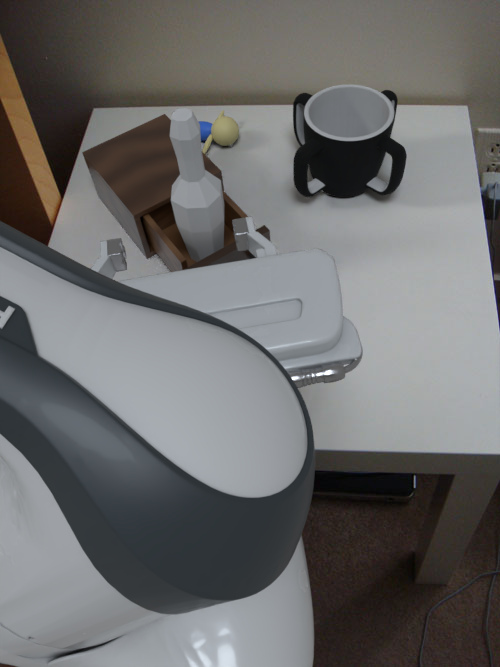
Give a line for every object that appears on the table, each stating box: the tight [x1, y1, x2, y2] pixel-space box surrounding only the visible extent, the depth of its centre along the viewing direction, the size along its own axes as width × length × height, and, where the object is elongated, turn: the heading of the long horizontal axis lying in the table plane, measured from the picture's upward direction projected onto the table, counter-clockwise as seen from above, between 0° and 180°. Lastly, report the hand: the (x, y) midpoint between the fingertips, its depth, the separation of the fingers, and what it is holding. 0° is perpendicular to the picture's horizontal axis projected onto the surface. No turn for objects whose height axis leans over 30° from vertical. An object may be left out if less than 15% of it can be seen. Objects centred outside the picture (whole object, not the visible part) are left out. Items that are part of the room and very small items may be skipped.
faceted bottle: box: [170, 107, 224, 262], centre depth 73 cm, size 6×6×22 cm
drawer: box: [140, 190, 271, 272], centre depth 79 cm, size 19×12×7 cm, turn 34°
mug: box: [292, 83, 408, 198], centre depth 86 cm, size 16×16×12 cm
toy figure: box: [198, 110, 240, 155], centre depth 96 cm, size 11×9×5 cm
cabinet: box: [81, 113, 225, 260], centre depth 86 cm, size 16×14×9 cm
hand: (178, 234), depth 43 cm, fingers open, 8 cm apart
